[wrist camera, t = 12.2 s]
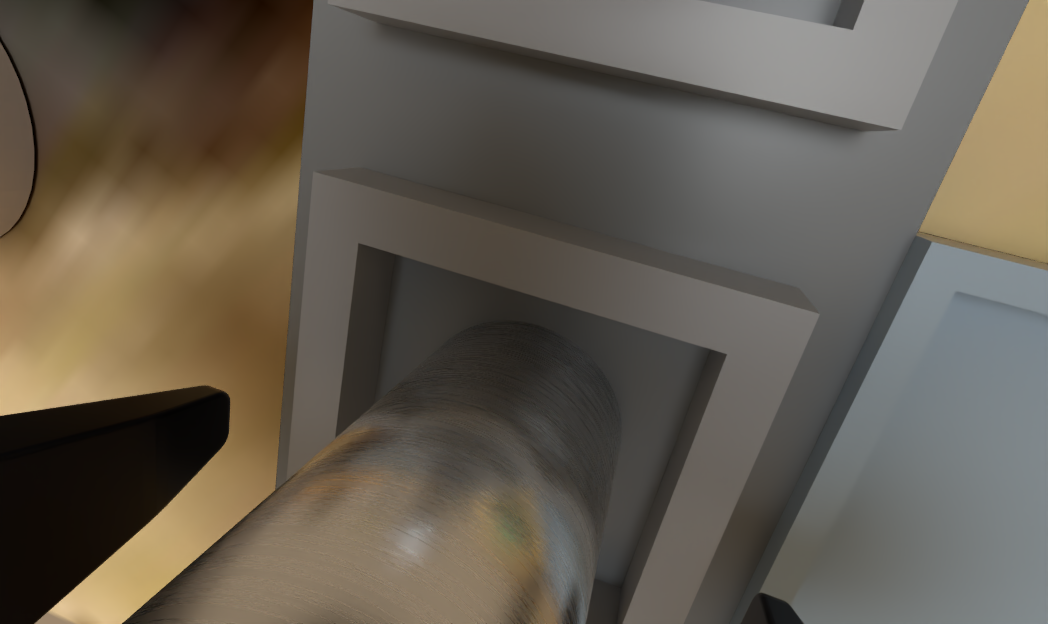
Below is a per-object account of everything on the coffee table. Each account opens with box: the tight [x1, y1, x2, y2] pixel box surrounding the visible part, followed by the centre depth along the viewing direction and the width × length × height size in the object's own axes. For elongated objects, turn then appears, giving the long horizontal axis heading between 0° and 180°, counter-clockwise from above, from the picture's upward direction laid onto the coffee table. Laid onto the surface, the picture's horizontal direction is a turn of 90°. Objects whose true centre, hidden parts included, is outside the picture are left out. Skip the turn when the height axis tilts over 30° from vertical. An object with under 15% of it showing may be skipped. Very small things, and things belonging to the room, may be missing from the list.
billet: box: [122, 320, 622, 624], centre depth 8 cm, size 4×4×8 cm
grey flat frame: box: [275, 0, 1029, 624], centre depth 10 cm, size 11×20×3 cm, turn 167°
